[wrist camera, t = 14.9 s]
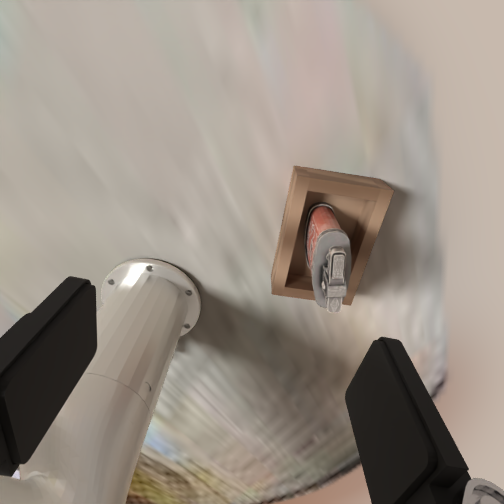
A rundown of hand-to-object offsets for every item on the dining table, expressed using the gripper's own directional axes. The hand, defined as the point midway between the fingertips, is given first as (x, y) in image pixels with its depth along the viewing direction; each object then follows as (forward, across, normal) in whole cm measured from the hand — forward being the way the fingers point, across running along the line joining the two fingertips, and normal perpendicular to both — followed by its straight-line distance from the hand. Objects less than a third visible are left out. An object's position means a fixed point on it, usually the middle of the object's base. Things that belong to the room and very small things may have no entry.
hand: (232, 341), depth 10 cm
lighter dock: (+24, -9, +5) cm, 26 cm away
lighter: (+24, -9, +5) cm, 26 cm away
